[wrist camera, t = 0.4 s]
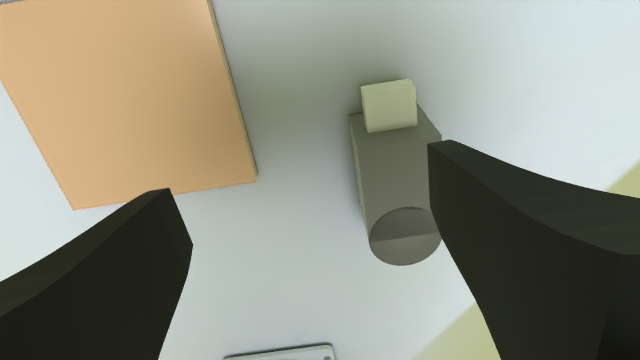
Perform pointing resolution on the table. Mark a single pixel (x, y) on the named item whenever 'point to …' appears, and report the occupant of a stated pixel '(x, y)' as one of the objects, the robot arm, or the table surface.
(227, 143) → the coaster
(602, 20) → the table surface
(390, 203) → the usb plug
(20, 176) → the table surface
